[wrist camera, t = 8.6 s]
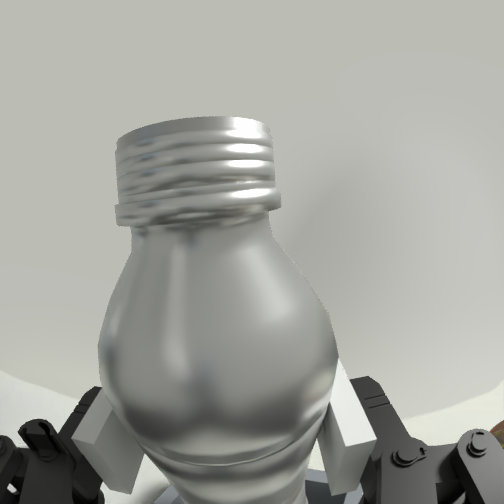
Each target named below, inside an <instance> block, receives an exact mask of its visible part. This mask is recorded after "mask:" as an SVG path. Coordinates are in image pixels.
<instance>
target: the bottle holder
mask: <svg viewBox="0 0 504 504" xmlns="http://www.w3.org/2000/svg"><path fill="white" fill-rule="evenodd" d="M362 493H363V490H362V487H361V484H359V486H358V488H357V490H356V491H352V492H347V493H343V494H338V495H333V496H331V492H330V488H329V484H328V480H327V476H326V472H325V471H320V470H313V469H308V468H307V471H306V477H305V495H306V497H307V499H308V504H358V503H359V501H360V499H361V497H362ZM153 504H184V501H183V499H182V498H181V497H180V496H179V494H178V493H177V492H176V490H175V489H174V488H173V487H172V485H171V484H170V485H169V487H168V488H167V489H166V490H165V491H164V492H163V493H162V494H161V495H160V496H159V498H158V499H157V500H156V501H155V502H154V503H153Z"/></svg>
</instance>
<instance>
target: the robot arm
mask: <svg viewBox="0 0 504 504" xmlns="http://www.w3.org/2000/svg"><path fill="white" fill-rule="evenodd" d="M18 434H19V435H20V436H21V438H22V439H23V441H24V442H25V443H26V445H27V446H28V447H29V448H20V447H17V446H16V445H15V444H14V442H13V441H12V440H11V439H10V438H9V437H7V436H3V435H0V504H105V499H104V494H103V492H102V491H101V490H100V487H101V484H102V482H104V483H105V484H106V485H107V487H108V488H109V489H110V490H114V491H118V492H122V493H126V494H131V493H132V490H133V487H134V484H135V480H136V477H137V474H138V471H139V468H140V465H141V462H142V459H143V456H144V451H143V450H142V449H141V448H140V447H139V445H138V444H137V443H136V442H135V440H134V439H133V438H132V436H131V435H130V434H129V433H128V432H127V431H126V429H125V428H124V426H123V425H122V423H121V422H120V421H119V419H118V418H117V416H116V414H115V412H114V411H113V409H112V407H111V405H110V403H109V402H108V400H107V398H106V396H105V395H104V393H103V389H102V387H96V386H94V387H93V388H92V389H90V390H89V391H88V392H86V393H85V394H84V396H83V397H82V398H81V400H80V401H79V405H77V406H76V407H75V409H74V412H72V413H71V415H70V416H69V418H68V419H67V421H66V422H65V424H64V425H63V427H62V429H61V430H60V432H59V433H58V434H57V432H56V431H55V429H54V427H53V426H52V424H51V423H49V422H48V421H47V420H43V419H33V420H31V421H28V422H26V423H25V424H24V425H22V426H21V427H20V429H19V431H18ZM317 440H318V443H319V447H320V451H321V455H322V459H323V463H324V468H325V472H326V476H327V480H328V484H329V488H330V492H331V496H333V495H338V494H343V493H347V492H352V491H356V490H357V488H358V486H359V484H361V487H362V490H363V495H362V497H361V499H360V501H359V503H358V504H504V449H503V448H502V446H501V445H500V444H499V442H498V441H497V439H496V438H495V437H494V436H493V435H492V434H491V433H490V432H488V431H486V430H484V429H473V430H469V431H467V432H466V433H465V434H463V435H462V436H461V438H460V439H459V441H458V443H454V444H447V445H439V446H427V445H426V444H425V443H424V442H423V441H421V440H418V439H416V438H411V436H410V435H409V434H408V432H407V430H406V429H405V427H404V425H403V423H402V422H401V420H400V418H399V416H398V415H397V413H396V411H395V410H394V408H393V406H392V405H391V404H390V401H389V400H388V398H387V396H385V393H384V391H383V389H382V388H381V386H380V384H379V383H377V382H376V381H375V380H373V379H372V378H370V377H369V376H366V377H361V378H355V379H350V380H349V379H348V376H347V375H346V372H345V371H344V368H343V366H342V364H341V362H340V360H339V358H338V364H337V369H336V375H335V379H334V385H333V390H332V395H331V399H330V401H329V403H328V407H327V411H326V413H325V416H324V419H323V422H322V425H321V428H320V430H319V433H318V436H317ZM9 484H11V485H12V486H13V487H14V488H15V489H16V491H15V492H13V493H12V492H11V491H10V490H9V489H7V488H8V486H9Z"/></svg>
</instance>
